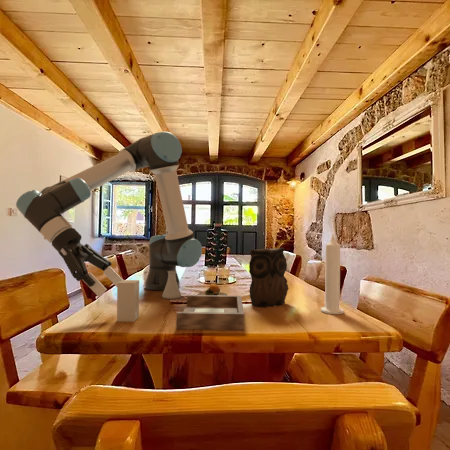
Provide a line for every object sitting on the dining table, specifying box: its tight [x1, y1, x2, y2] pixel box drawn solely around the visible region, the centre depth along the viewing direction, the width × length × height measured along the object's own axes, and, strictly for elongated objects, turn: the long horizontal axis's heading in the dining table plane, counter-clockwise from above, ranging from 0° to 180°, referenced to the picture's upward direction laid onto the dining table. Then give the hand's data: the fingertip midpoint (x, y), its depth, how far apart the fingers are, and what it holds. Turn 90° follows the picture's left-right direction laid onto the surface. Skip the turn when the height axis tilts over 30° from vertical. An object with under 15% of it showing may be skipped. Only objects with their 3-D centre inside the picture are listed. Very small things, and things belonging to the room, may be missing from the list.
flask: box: [161, 270, 183, 300], centre depth 120 cm, size 7×7×10 cm
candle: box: [320, 234, 345, 315], centre depth 102 cm, size 7×7×25 cm
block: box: [116, 279, 140, 323], centre depth 91 cm, size 5×4×11 cm
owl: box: [248, 247, 290, 308], centre depth 111 cm, size 13×13×20 cm
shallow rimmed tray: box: [175, 294, 245, 331], centre depth 94 cm, size 18×22×4 cm
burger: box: [196, 283, 228, 296], centre depth 118 cm, size 12×12×8 cm
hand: (112, 288), depth 91 cm, fingers open, 13 cm apart
